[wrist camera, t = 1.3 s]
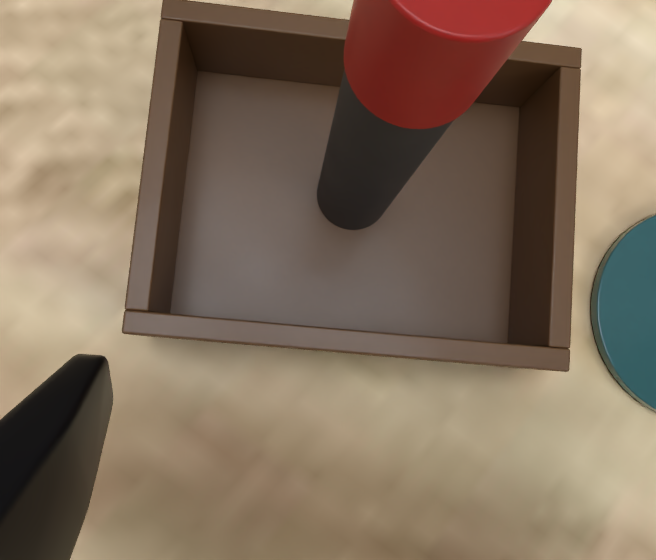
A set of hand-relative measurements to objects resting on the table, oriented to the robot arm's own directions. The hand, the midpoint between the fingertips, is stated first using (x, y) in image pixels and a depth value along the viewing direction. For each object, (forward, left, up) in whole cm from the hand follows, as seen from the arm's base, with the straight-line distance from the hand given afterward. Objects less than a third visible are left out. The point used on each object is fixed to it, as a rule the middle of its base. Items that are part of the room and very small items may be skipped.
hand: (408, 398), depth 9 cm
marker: (+6, -3, -12) cm, 14 cm away
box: (+5, -2, -13) cm, 14 cm away
